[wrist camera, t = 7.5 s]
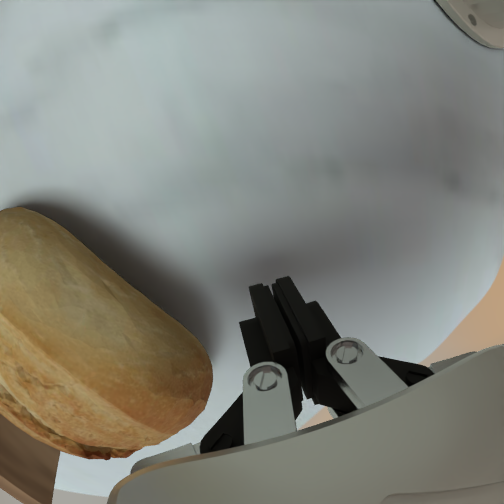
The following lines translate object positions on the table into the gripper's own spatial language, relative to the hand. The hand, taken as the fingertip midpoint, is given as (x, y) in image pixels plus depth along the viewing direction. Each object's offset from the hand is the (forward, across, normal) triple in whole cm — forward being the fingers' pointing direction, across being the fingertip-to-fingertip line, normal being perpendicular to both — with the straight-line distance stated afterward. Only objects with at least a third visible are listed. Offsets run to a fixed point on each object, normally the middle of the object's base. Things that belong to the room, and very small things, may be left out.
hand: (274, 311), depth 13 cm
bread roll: (+4, +9, 0) cm, 10 cm away
